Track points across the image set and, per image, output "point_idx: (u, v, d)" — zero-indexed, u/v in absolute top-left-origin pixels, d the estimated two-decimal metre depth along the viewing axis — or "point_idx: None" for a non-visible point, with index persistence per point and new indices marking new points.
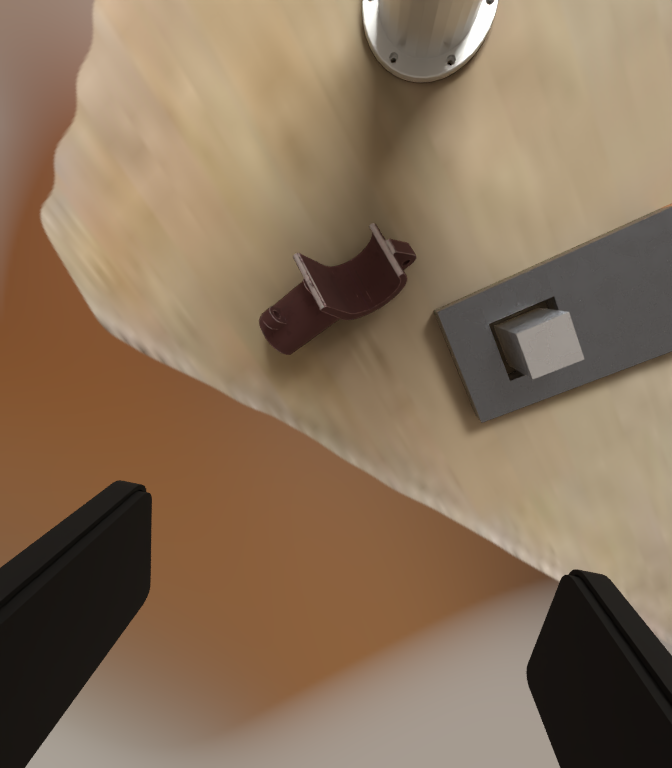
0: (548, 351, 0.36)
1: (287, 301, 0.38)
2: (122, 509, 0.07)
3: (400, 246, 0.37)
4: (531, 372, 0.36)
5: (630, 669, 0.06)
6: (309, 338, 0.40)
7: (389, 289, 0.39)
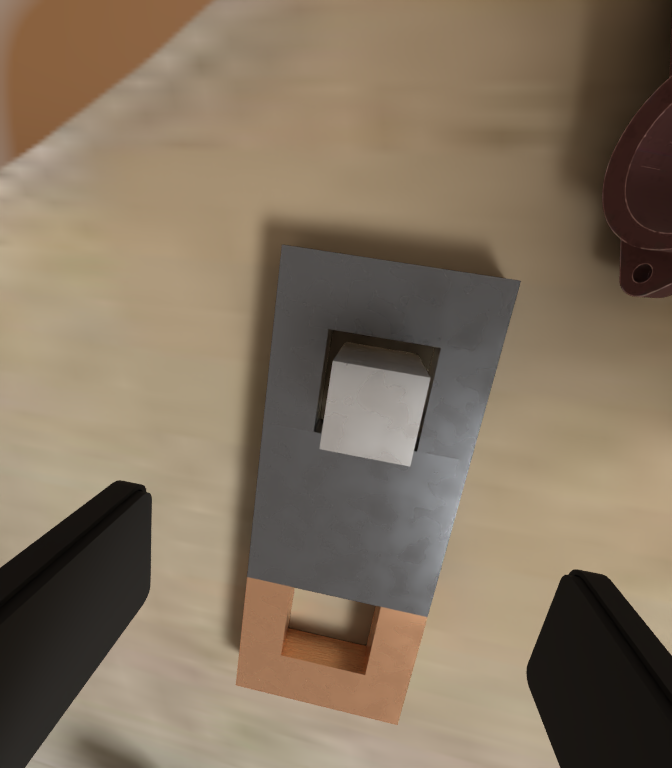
0: (365, 407, 0.19)
1: None
2: (122, 509, 0.07)
3: None
4: (346, 365, 0.19)
5: (630, 669, 0.06)
6: None
7: (638, 212, 0.18)
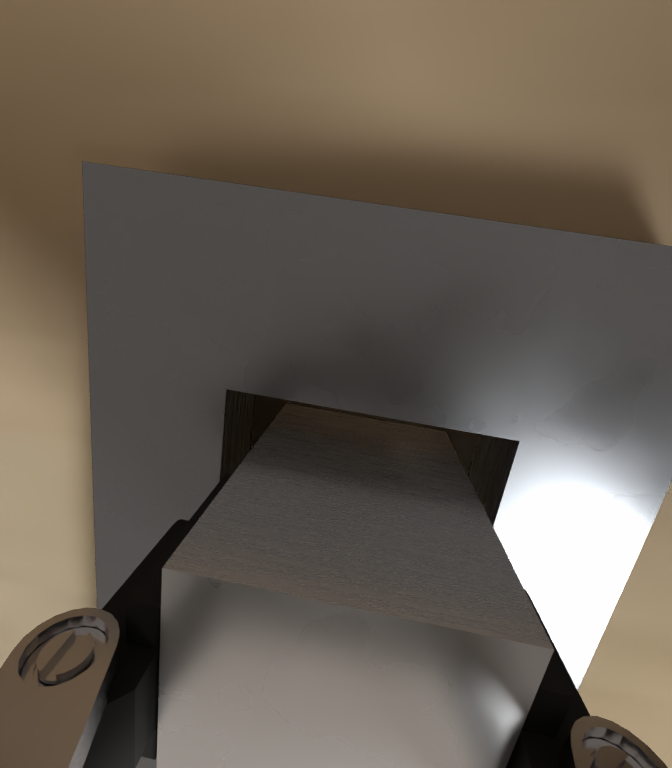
0: (298, 721, 0.05)
1: None
2: None
3: None
4: (216, 586, 0.05)
5: None
6: None
7: None
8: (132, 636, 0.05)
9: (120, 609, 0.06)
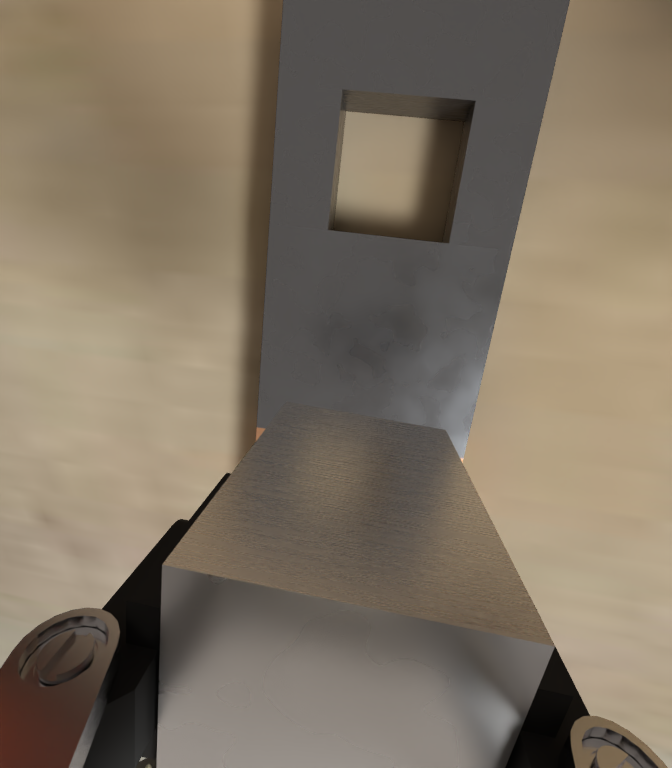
0: (298, 717, 0.05)
1: None
2: None
3: None
4: (216, 583, 0.05)
5: None
6: None
7: None
8: (132, 636, 0.05)
9: (120, 609, 0.06)
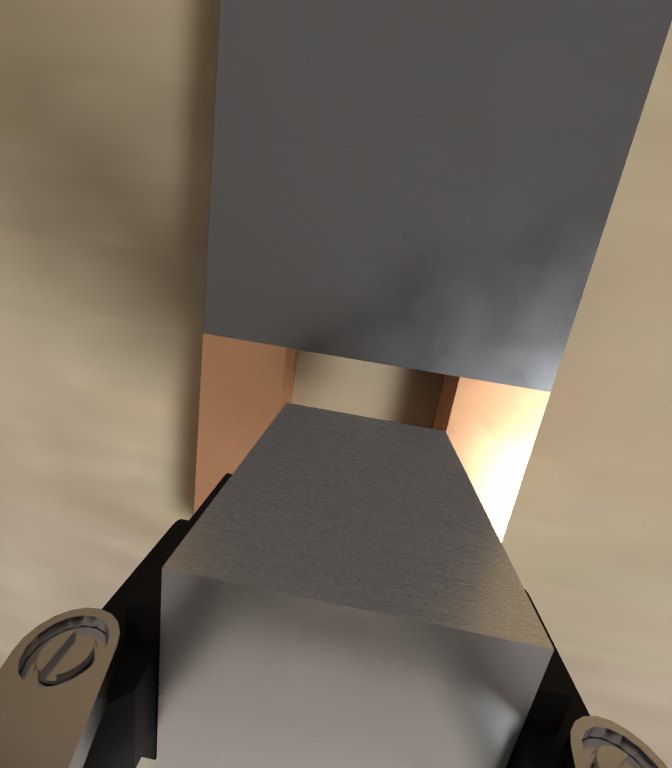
0: (297, 721, 0.05)
1: None
2: None
3: None
4: (216, 586, 0.05)
5: None
6: None
7: None
8: (132, 636, 0.05)
9: (120, 609, 0.06)
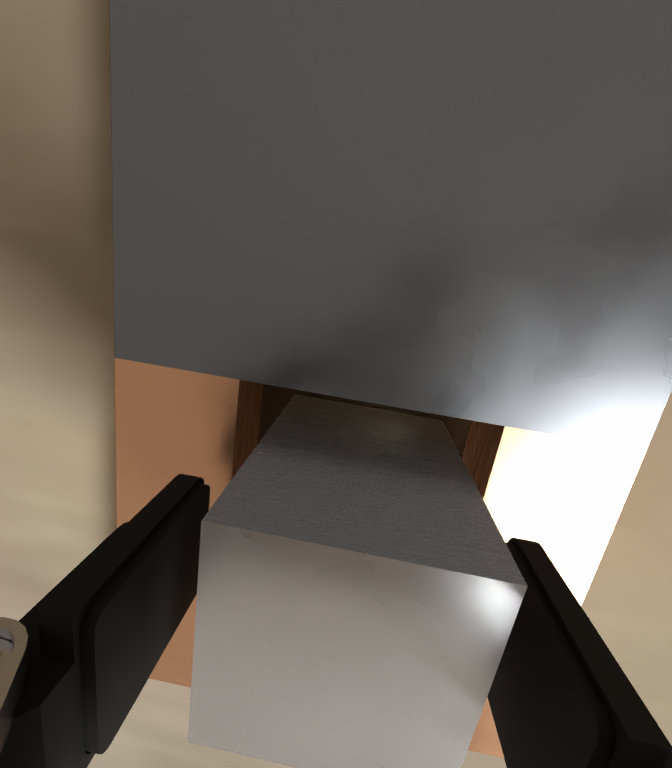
0: (313, 653, 0.06)
1: None
2: (189, 499, 0.08)
3: None
4: (246, 536, 0.06)
5: (542, 616, 0.06)
6: None
7: None
8: (47, 647, 0.05)
9: None
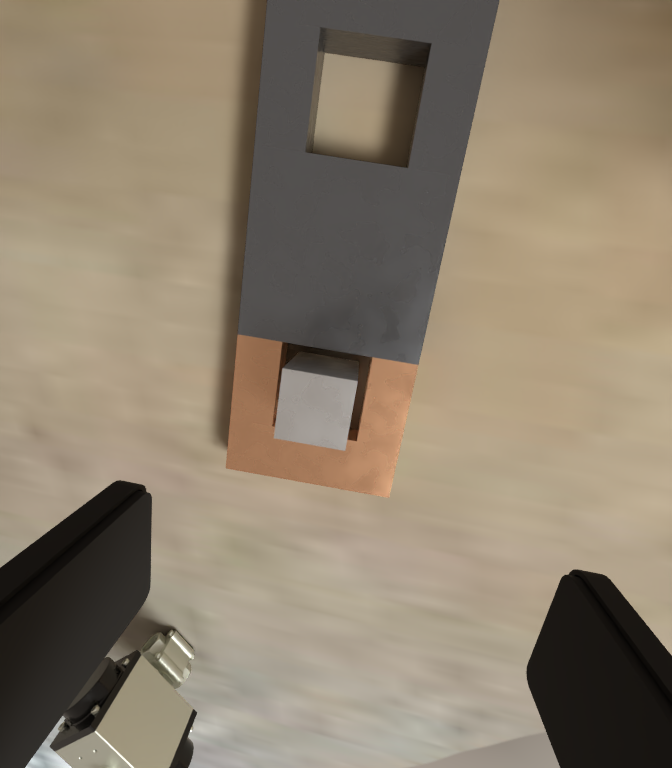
0: (308, 404, 0.24)
1: None
2: (122, 509, 0.07)
3: None
4: (293, 371, 0.24)
5: (630, 669, 0.06)
6: None
7: None
8: None
9: None
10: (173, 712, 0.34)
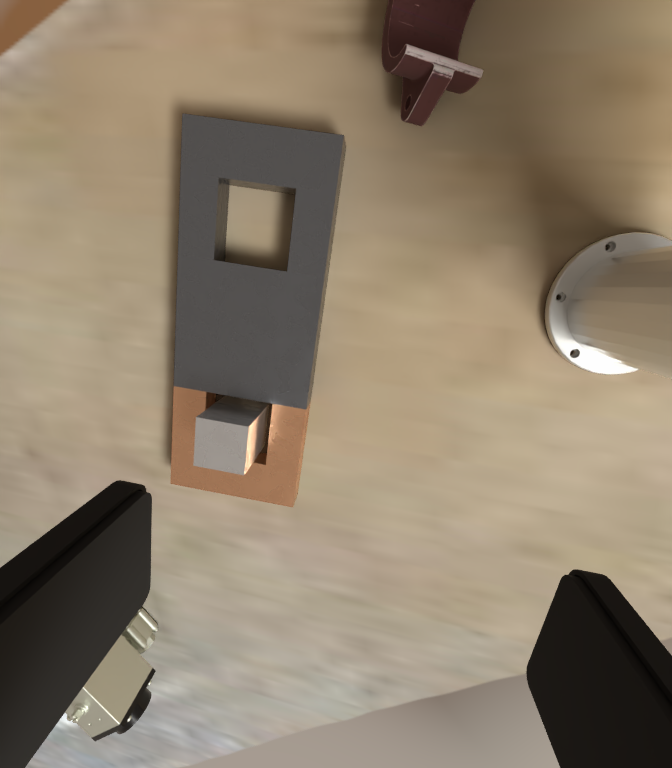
0: (216, 442, 0.34)
1: None
2: (122, 509, 0.07)
3: (432, 93, 0.27)
4: (203, 419, 0.34)
5: (630, 669, 0.06)
6: None
7: (395, 51, 0.28)
8: None
9: None
10: (135, 669, 0.44)
